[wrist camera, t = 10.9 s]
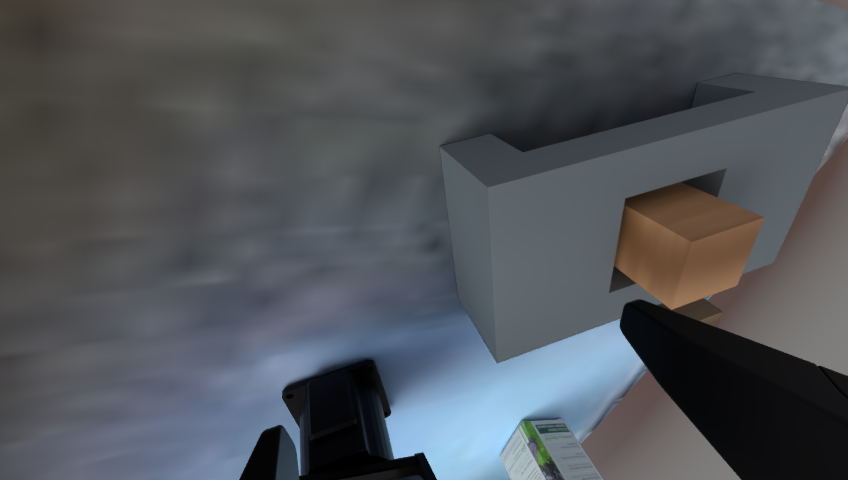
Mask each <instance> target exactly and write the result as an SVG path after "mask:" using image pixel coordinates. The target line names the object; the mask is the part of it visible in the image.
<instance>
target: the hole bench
mask: <svg viewBox="0 0 848 480" xmlns="http://www.w3.org/2000/svg"><path fill="white" fill-rule="evenodd" d="M847 104H848V86H840V85H832V84H823V83H815V82H807V81H798V80H790V79H782V78H774V77H765V76H757V75H749V74H740V73H735V74H731V75H727V76H723V77H719V78H715V79H710V80H706V81H702V82H698V84H697V88H696V92H695V96H694V100H693V104H692V108H691V109H687V110H684V111H680V112H676V113H672V114H668V115H664V116H660V117H657V118H653V119H649V120H645V121H641V122H637V123H633V124H630V125H626V126H622V127H618V128H614V129H610V130H607V131H603V132H599V133H595V134H591V135H587V136H583V137H580V138H576V139H572V140H568V141H564V142H560V143H556V144H553V145H549V146H545V147H541V148H537V149H533V150H530V151H526V152H521V151H520V150H518V149H516V148H514V147H513V146H511V145H509V144H507V143H506V142H504V141H502V140H501V139H499V138H497V137H495V136H494V135H492V134H487V135H483V136H479V137H475V138H471V139H467V140H463V141H458V142H454V143H450V144H446V145H442V146H439V147H440V155H441V163H442V171H443V179H444V187H445V195H446V204H447V212H448V220H449V228H450V236H451V244H452V252H453V260H454V268H455V277H456V285H457V293H458V299H459V300H460V302H461V304H462V305H463V307H464V309H465V310H466V312H467V314H468V315H469V317H470V319H471V320H472V322H473V324H474V325H475V327H476V329H477V330H478V332H479V334H480V336H481V337H482V339H483V341H484V342H485V344H486V346H487V347H488V349H489V351H490V352H491V354H492V356H493V357H494V359H495V361H496V362H497V363H499V362H502V361H505V360H507V359H510V358H513V357H516V356H518V355H521V354H524V353H527V352H529V351H532V350H535V349H538V348H540V347H543V346H546V345H549V344H551V343H554V342H557V341H560V340H562V339H565V338H568V337H571V336H573V335H576V334H579V333H582V332H584V331H587V330H590V329H593V328H595V327H598V326H601V325H604V324H606V323H609V322H612V321H615V320H617V319H620V318H621V316H622V311H623V307H624V305H625V304H626V303H628V302H630V301H633V300H636V299H642V300H645V301H648V302H650V303H653V304H656V305H659V304H661V303H662V302H660V301H659V300H658V299H657V298H655V297H654V296H653V295H651V294H650V293H649V292H647V291H646V290H645V289H643V288H642V287H641V286H640V285H638V284H637V283H636V282H634V281H633V280H632V279H630V278H629V277H628V276H626V275H625V274H624V273H623V272H621V271H620V270H619V269H617V268H616V267H615V266H614V261H615V255H616V249H617V243H618V238H619V232H620V226H621V220H622V214H623V209H624V203H625V198H628V197H632V196H635V195H638V194H642V193H645V192H648V191H652V190H655V189H658V188H662V187H665V186H668V185H672V184H675V183H678V182H681V183H684V184H686V185H688V186H691V187H693V188H696V189H698V190H700V191H703V192H705V193H708V194H710V195H712V196H715V197H717V198H720V199H722V200H724V201H727V202H729V203H732V204H734V205H736V206H739V207H741V208H744V209H746V210H748V211H751V212H753V213H756V214H758V215H760V216H763V217H765V219H764V221H763V223H762V226H761V228H760V231H759V233H758V236H757V238H756V240H755V243H754V245H753V248H752V250H751V253H750V255H749V258H748V260H747V262H746V265H745V267H744V270H743V272H742V274H744V273H747V272H749V271H752V270H755V269H757V268H760V267H763V266H766V265H769V264H771V263H774V261H775V259H776V256H777V254H778V252H779V249H780V248H781V246H782V244H783V241H784V239H785V237H786V235H787V232H788V231H789V228H790V226H791V224H792V222H793V220H794V218H795V216H796V213H797V211H798V209H799V207H800V205H801V202H802V200H803V198H804V196H805V194H806V192H807V190H808V188H809V185H810V183H811V181H812V179H813V177H814V175H815V173H816V170H817V168H818V166H819V164H820V162H821V160H822V157H823V155H824V153H825V151H826V149H827V147H828V145H829V142H830V140H831V138H832V136H833V134H834V132H835V129H836V127H837V125H838V123H839V121H840V119H841V117H842V114H843V112H844V110H845V108H846V106H847Z"/></svg>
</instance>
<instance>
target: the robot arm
mask: <svg viewBox="0 0 848 480" xmlns="http://www.w3.org/2000/svg"><path fill="white" fill-rule="evenodd" d="M620 329H621V331H622V333H623V335H624V336H625V338H626V339H627V340H628V342H629V343H630V345H631V346H632V347H633V349H634V350H635V352H636V353H637V354H638V356H639V357H640V359H641V360H642V361H643V363H644V364H645V366H646V367H647V368H648V370H649V371H650V373H651V374H652V375H653V376H654V378H655V379H656V381H657V382H658V383H659V384H660V386H661V387H662V388H663V389H664V391H665V392H666V393H667V394H668V395H669V396H670V397H671V399H672V400H673V401H674V402H675V403H676V404H677V405H678V407H679V408H680V409H681V410H682V411H683V413H684V414H685V415H686V416H687V417H688V418H689V420H690V421H691V422H692V423H693V424H694V425H695V427H696V428H697V429H698V430H699V431H700V432H701V433H702V434H703V436H704V437H705V438H706V439H707V440H708V442H709V443H710V444H711V445H712V446H713V447H714V449H715V450H716V451H717V452H718V453H719V454H720V455H721V457H722V458H723V459H724V460H725V461H726V462H727V464H728V465H729V466H730V467H731V468H732V469H733V471H734V472H735V473H736V474H737V475H738V476H739V478H740V479H741V480H848V376H847V375H844V374H841V373H838V372H835V371H833V370H830V369H828V368H825V367H822V366H817V365H816V364H814V363H811V362H809V361H805V360H803V359H800V358H798V357H795V356H792V355H789V354H787V353H784V352H782V351H779V350H776V349H773V348H771V347H768V346H766V345H763V344H760V343H757V342H754V341H752V340H750V339H747V338H744V337H741V336H739V335H736V334H733V333H730V332H728V331H725V330H723V329H720V328H717V327H715V326H712V325H709V324H707V323H704V322H701V321H699V320H696V319H693V318H691V317H688V316H685V315H683V314H680V313H677V312H674V311H672V310H669V309H666V308H664V307H661V306H658V305H656V304H653V303H650V302H648V301H645V300H642V299H636V300H633V301H630V302H628V303H626V304H625V305H624V307H623V311H622V316H621V320H620ZM369 366H370V367H369ZM282 399H283V401H284V402H285V404H286V406H287V407H288V409H289V411H290V413H291V414H292V416H293V418H294V419H295V421H296V423H297V424H298V426H299V428H300V460H301V476H299V471H298V462H297V453H296V448H295V445H294V443H293V441H292V439H291V438H290V436H289V434H288V433H287V431H286V429H285V428H284V427H283V426H282V425H278V426H275V427H272V428H269V429H266V430H265V431H263V432H262V434H261V435H260V437H259V440H258V442H257V444H256V446H255V448H254V450H253V452H252V454H251V456H250V458H249V461H248V463H247V465H246V467H245V469H244V471H243V473H242V475H241V477H240V479H239V480H437V479H436V477H435V475H434V473H433V471H432V469H431V467H430V465H429V463H428V461H427V459H426V457H425V455H424V453H417V454H414V456H409V457H403V458H398V459H394V456H393V452H392V447H391V443H390V439H389V434H388V430H387V426H386V421H385V418H387V417H388V416H390V414H391V410H390V406H389V403H388V400H387V397H386V394H385V391H384V388H383V385H382V382H381V379H380V376H379V373H378V370H377V367H376V364H375V361H374V360H370V359H369V360H365V361H362V362H359V363H356V364H353V365H351V366H348V367H345V368H342V369H339V370H336V371H333V372H330V373H327V374H324V375H321V376H318V377H315V378H312V379H309V380H306V381H303V382H300V383H298V384H295V385H292V386H289V387H286V388H285V389H284V390H283V391H282Z"/></svg>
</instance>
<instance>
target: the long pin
mask: <svg viewBox="0 0 848 480" xmlns="http://www.w3.org/2000/svg"><path fill="white" fill-rule="evenodd" d="M764 219H765V217H763V216H760V215H758V214H756V213H753V212H751V211H748V210H746V209H744V208H741V207H739V206H736V205H734V204H732V203H729V202H727V201H724V200H722V199H720V198H717V197H715V196H712V195H710V194H708V193H705V192H703V191H700V190H698V189H696V188H693V187H691V186H688V185H686V184H684V183H681V182H678V183H675V184H672V185H668V186H665V187H662V188H658V189H655V190H652V191H648V192H645V193H642V194H638V195H635V196H632V197H628V198H625V203H624V209H623V214H622V220H621V226H620V232H619V238H618V243H617V249H616V255H615V261H614V266H615V267H616V268H617V269H619V270H620V271H621V272H623V273H624V274H625V275H626V276H628V277H629V278H630V279H632V280H633V281H634V282H636V283H637V284H638V285H640V286H641V287H642V288H643V289H645V290H646V291H647V292H649V293H650V294H651V295H653V296H654V297H655V298H657V299H658V300H659V301H660V302H662V303H663V304H664V305H666V306H667V307H668V308H670V309H671V310H672V309H675V308H678V307H680V306H683V305H686V304H688V303H691V302H694V301H697V300H699V299H702V298H705V297H707V296H710V295H713V294H715V293H718V292H721V291H723V290H726V289H729V288H731V287H734V286H737V284H738V282H739V279H740V277H741V274H742V272H743V270H744V267H745V265H746V262H747V260H748V258H749V255H750V253H751V250H752V248H753V245H754V243H755V240H756V238H757V236H758V233H759V231H760V228H761V226H762V223H763V221H764Z"/></svg>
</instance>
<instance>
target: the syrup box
mask: <svg viewBox="0 0 848 480" xmlns="http://www.w3.org/2000/svg"><path fill="white" fill-rule="evenodd" d="M500 457H501V459H502V461H503V464H504V466H505V468H506V470H507V472H508V474H509V476H510V478H511V480H603V479H602V477H601V476H600V474H599V473H598V471H597V470H596V468H595V467H594V465H593V464H592V462H591V461H590V459H589V458H588V456H587V455H586V453H585V452H584V450H583V449H582V447H581V446H580V444H579V442H578V441H577V439H576V438H575V436H574V435H573V433H572V432H571V430H570V429H569V427H568V426H567V424H566V423H565V421H564V420H563V419H562V418H558V419H556V420H537V421H521V423H520V424H519V426H518V427H517V429H516V430H515V432H514V433H513V435H512V437H511V438H510V440H509V441H508V443H507V445H506V446H505V448H504V450H503V451H502V453H501V455H500Z"/></svg>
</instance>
